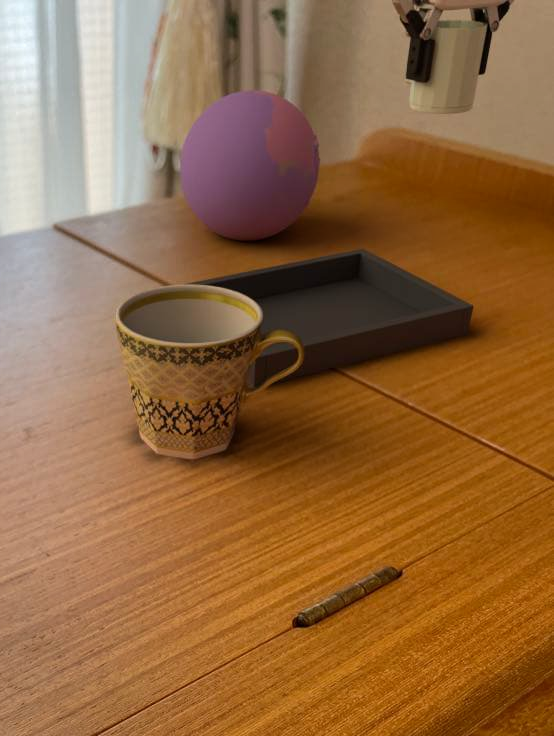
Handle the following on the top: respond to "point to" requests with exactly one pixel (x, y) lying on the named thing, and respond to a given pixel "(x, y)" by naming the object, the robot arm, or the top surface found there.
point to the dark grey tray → (344, 311)
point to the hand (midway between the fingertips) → (445, 75)
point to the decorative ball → (249, 165)
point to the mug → (451, 69)
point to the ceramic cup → (192, 364)
